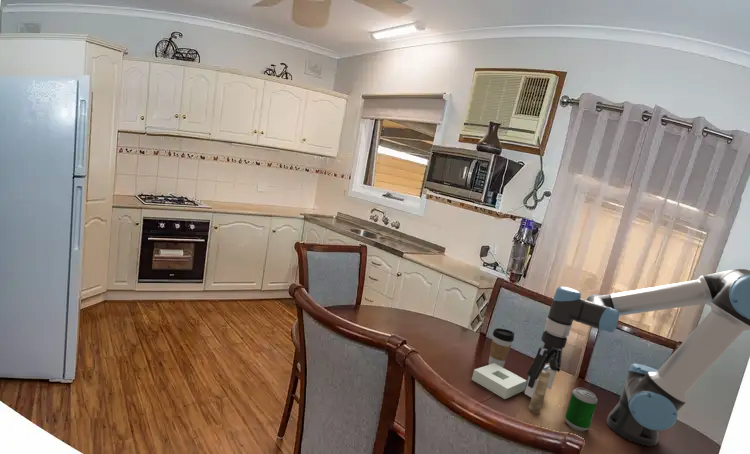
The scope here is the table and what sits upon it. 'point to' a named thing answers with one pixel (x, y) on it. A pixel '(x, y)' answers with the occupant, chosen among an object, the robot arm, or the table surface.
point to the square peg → (543, 369)
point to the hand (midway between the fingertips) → (538, 391)
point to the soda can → (581, 409)
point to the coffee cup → (500, 346)
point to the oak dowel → (539, 392)
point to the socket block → (499, 380)
